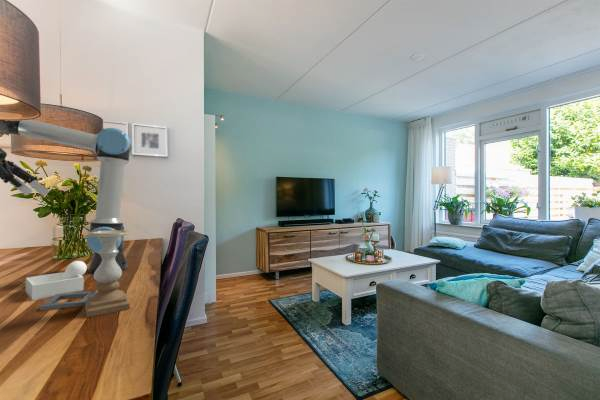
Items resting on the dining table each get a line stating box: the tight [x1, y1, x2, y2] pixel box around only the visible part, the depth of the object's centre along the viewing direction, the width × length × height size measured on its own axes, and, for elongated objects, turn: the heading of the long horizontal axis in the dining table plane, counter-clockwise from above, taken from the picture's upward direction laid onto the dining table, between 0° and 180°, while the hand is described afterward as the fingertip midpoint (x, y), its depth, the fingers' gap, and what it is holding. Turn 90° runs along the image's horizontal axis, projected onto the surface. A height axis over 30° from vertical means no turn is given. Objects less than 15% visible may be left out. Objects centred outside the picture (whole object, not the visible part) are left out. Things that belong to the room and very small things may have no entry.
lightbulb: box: [57, 260, 88, 281], centre depth 102 cm, size 6×6×11 cm
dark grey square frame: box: [39, 290, 98, 311], centre depth 89 cm, size 12×12×1 cm
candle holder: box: [84, 229, 131, 318], centre depth 85 cm, size 11×11×24 cm
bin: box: [25, 271, 85, 302], centre depth 99 cm, size 14×14×5 cm
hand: (38, 193), depth 106 cm, fingers open, 13 cm apart
